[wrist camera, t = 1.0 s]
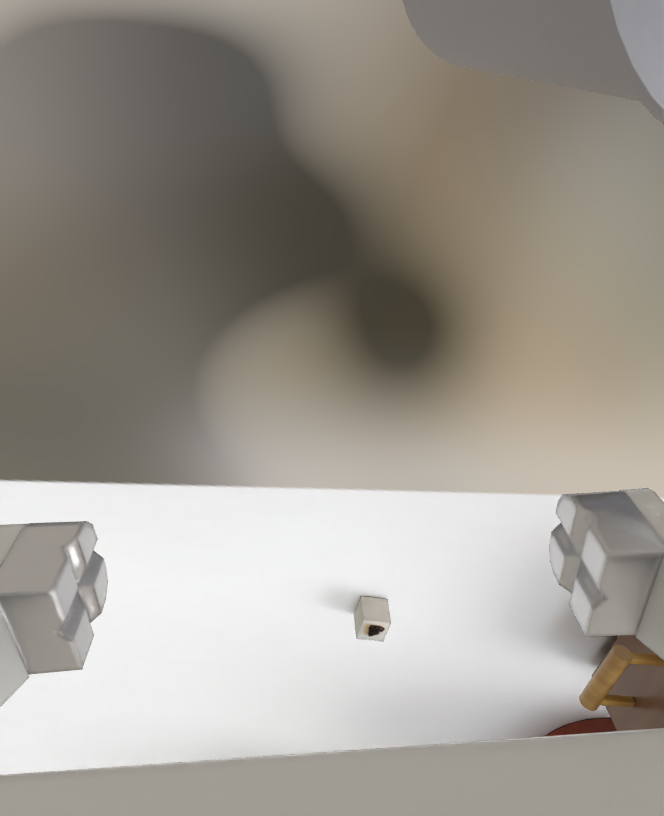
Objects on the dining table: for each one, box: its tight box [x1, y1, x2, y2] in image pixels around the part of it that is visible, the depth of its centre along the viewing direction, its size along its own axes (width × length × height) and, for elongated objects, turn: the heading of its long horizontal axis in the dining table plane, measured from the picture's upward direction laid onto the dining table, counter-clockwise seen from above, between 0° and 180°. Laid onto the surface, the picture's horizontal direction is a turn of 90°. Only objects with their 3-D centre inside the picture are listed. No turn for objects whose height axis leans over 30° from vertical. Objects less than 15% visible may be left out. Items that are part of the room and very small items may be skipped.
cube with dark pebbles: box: [354, 596, 391, 642], centre depth 46 cm, size 2×2×2 cm
